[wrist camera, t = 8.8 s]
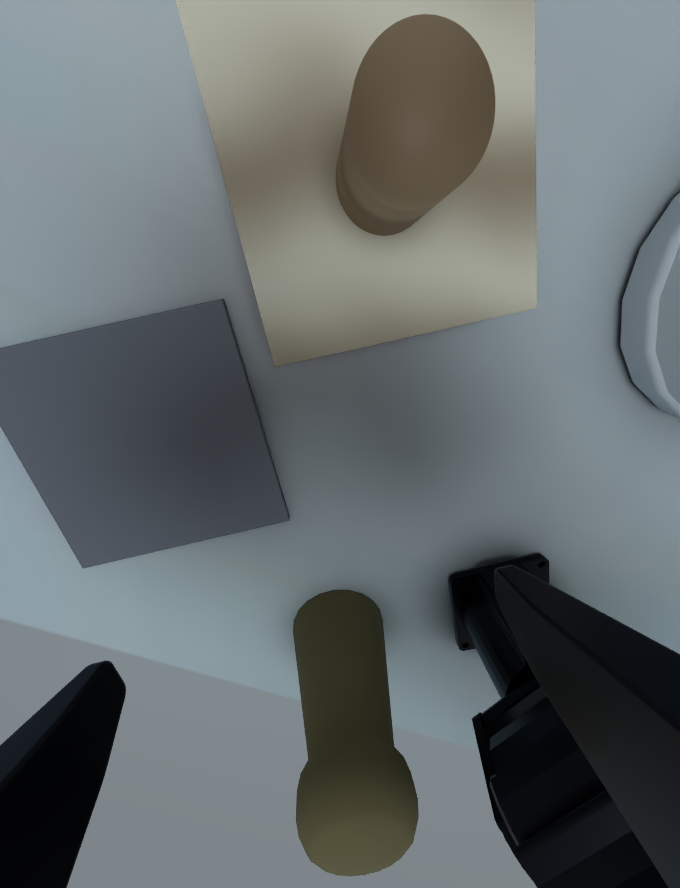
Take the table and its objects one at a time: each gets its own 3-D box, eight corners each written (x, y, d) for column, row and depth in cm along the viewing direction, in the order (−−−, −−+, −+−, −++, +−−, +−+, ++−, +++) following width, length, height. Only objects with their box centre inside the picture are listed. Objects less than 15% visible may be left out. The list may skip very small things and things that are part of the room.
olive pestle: (276, 611, 23) (254, 849, 13) (363, 576, 23) (410, 792, 13) (315, 670, 25) (322, 916, 15) (394, 639, 25) (457, 868, 15)
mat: (289, 516, 21) (289, 520, 20) (86, 563, 21) (82, 568, 20) (223, 299, 17) (221, 298, 16) (-32, 356, 16) (-40, 357, 16)
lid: (524, 308, 14) (628, 306, 10) (276, 364, 14) (262, 388, 9) (517, -47, 11) (675, -315, 6) (184, 23, 10) (93, -198, 6)
